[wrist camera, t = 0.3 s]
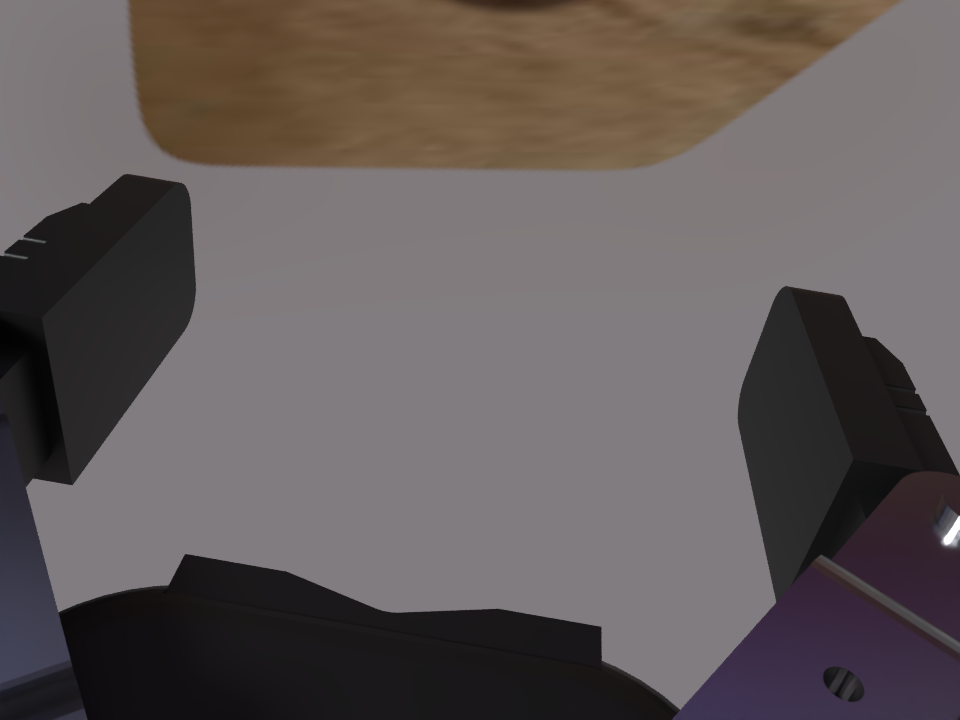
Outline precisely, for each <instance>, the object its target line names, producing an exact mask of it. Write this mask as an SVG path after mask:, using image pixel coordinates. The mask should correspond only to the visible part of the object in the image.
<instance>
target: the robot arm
mask: <svg viewBox="0 0 960 720" xmlns="http://www.w3.org/2000/svg"><path fill="white" fill-rule="evenodd" d="M195 294H196V281H195V266H194V249H193V234H192V217H191V203H190V197H189V193H188V190H187V188H186V186H185V185H184V184H182V183H178V182H172V181H166V180H160V179H155V178H149V177H143V176H136V175H131V174H125V175H123V176H122V177H120V178H119V179H118V180H117V181H116V182H114V183H113V184H112V185H111V186H110V187H109V188H108V189H106V190H105V191H104V192H103V193H102V194H101V195H99V196H98V197H97V198H96V199H95V200H94V201H92V202H91V203H90V204H87V203H80V204H78V205H75V206H72V207H70V208H68V209H65V210H62V211H60V212H57V213H55V214H52V215H50V216H47V217H46V218H44V219H43V220H42V221H41V222H40V223H38V224H37V225H36V226H35V227H34V228H33V229H31V230H30V231H29V232H28V233H26V234H25V235H24V238H23V240H18V241H17V242H15V243H14V244H13V245H12V246H11V247H9V248H8V249H7V250H6V251H5V254H4V256H0V720H960V475H959V473H958V471H957V469H956V467H955V465H954V463H953V461H952V459H951V457H950V455H949V453H948V451H947V449H946V447H945V445H944V443H943V441H942V439H941V438H940V436H939V433H938V431H937V430H936V428H935V426H934V424H933V422H932V420H931V418H930V416H927V415H926V411H927V410H926V408H925V406H924V404H923V402H922V400H921V398H920V396H919V394H915V390H916V388H915V387H914V385H913V383H912V381H911V379H910V377H909V375H908V373H907V371H906V369H905V367H904V365H903V363H902V362H901V361H900V360H898V359H897V358H896V357H895V356H894V355H893V354H892V353H891V352H890V351H889V350H888V349H887V348H885V347H884V346H883V345H882V344H881V343H880V342H879V341H878V340H877V339H875V338H870V337H864V336H862V334H861V332H860V330H859V328H858V326H857V324H856V322H855V319H854V317H853V315H852V313H851V311H850V309H849V306H848V304H847V302H846V300H845V299H844V297H843V296H840V295H835V294H829V293H823V292H817V291H811V290H805V289H799V288H793V287H788V286H785V287H783V288H782V289H781V290H780V291H779V292H778V294H777V296H776V297H775V299H774V302H773V304H772V307H771V309H770V312H769V315H768V317H767V320H766V323H765V325H764V328H763V331H762V333H761V336H760V339H759V341H758V344H757V347H756V350H755V352H754V355H753V358H752V360H751V363H750V365H749V368H748V371H747V373H746V376H745V379H744V382H743V385H742V389H741V393H740V399H739V406H738V425H739V430H740V434H741V440H742V444H743V449H744V453H745V458H746V463H747V468H748V472H749V477H750V481H751V486H752V491H753V495H754V500H755V505H756V509H757V514H758V519H759V523H760V527H761V533H762V537H763V542H764V547H765V551H766V556H767V560H768V565H769V570H770V574H771V579H772V584H773V589H774V593H775V597H776V604H775V605H774V606H773V607H772V608H771V609H770V610H769V612H768V613H767V614H766V615H765V616H764V617H763V618H762V619H761V620H760V622H759V623H758V624H757V625H756V626H755V627H754V628H753V629H752V630H751V632H750V633H749V634H748V635H747V636H746V637H745V638H744V639H743V640H742V642H741V643H740V644H739V645H738V646H737V647H736V648H735V649H734V651H733V652H732V653H731V654H730V655H729V656H728V657H727V658H726V659H725V661H724V662H723V663H722V664H721V665H720V666H719V667H718V669H717V670H716V671H715V672H714V673H713V674H712V675H711V676H710V677H709V679H708V680H707V681H706V682H705V683H704V684H703V685H702V687H701V688H700V689H699V690H698V691H697V692H696V693H695V694H694V695H693V696H692V698H691V699H690V700H689V701H688V702H687V703H686V704H685V705H684V707H683V708H682V709H681V710H680V709H679V708H677V707H676V706H675V705H674V704H672V703H671V702H670V701H669V700H668V699H667V698H665V697H664V696H663V695H661V694H660V693H659V692H657V691H656V690H654V689H653V688H651V687H650V686H648V685H647V684H645V683H644V682H642V681H641V680H639V679H637V678H635V677H634V676H631V675H630V674H628V673H626V672H624V671H623V670H621V669H619V668H617V667H615V666H612V665H610V664H608V663H606V662H603V661H602V655H601V653H602V652H601V627H599V626H593V625H587V624H582V623H576V622H570V621H565V620H559V619H553V618H547V617H542V616H536V615H531V614H524V613H519V612H513V611H508V610H502V609H487V610H486V609H483V610H459V611H458V610H457V611H431V612H407V613H406V612H405V613H391V612H385V611H381V610H378V609H375V608H373V607H370V606H368V605H366V604H363V603H361V602H359V601H356V600H354V599H351V598H349V597H346V596H344V595H341V594H339V593H337V592H334V591H332V590H330V589H327V588H325V587H322V586H320V585H317V584H315V583H312V582H310V581H308V580H305V579H303V578H301V577H298V576H296V575H293V574H291V573H288V572H285V571H279V570H274V569H268V568H262V567H257V566H251V565H245V564H240V563H234V562H228V561H222V560H217V559H211V558H205V557H199V556H194V555H188V554H185V556H184V557H183V559H182V561H181V563H180V565H179V567H178V569H177V571H176V573H175V575H174V576H173V578H172V580H171V582H170V584H169V585H168V586H153V587H146V588H139V589H131V590H126V591H122V592H117V593H113V594H109V595H104V596H101V597H98V598H95V599H92V600H89V601H86V602H83V603H80V604H77V605H75V606H72V607H70V608H68V609H65V610H63V611H61V612H58V609H57V605H56V602H55V598H54V594H53V590H52V586H51V582H50V579H49V575H48V571H47V567H46V563H45V559H44V556H43V552H42V548H41V544H40V540H39V536H38V532H37V529H36V525H35V521H34V517H33V513H32V509H31V505H30V501H29V498H28V494H27V490H26V486H27V485H28V484H29V483H30V481H31V480H32V479H33V478H34V479H40V480H45V481H52V482H57V483H62V484H68V485H73V484H74V482H75V481H76V480H77V478H78V477H79V475H80V474H81V473H82V471H83V470H84V469H85V467H86V466H87V464H88V463H89V462H90V460H91V459H92V458H93V456H94V455H95V453H96V452H97V451H98V449H99V448H100V446H101V445H102V444H103V442H104V441H105V439H106V438H107V437H108V435H109V434H110V433H111V431H112V430H113V429H114V427H115V426H116V424H117V423H118V421H119V420H120V419H121V418H122V416H123V414H124V413H125V412H126V411H127V409H128V408H129V406H130V405H131V403H132V402H133V401H134V400H135V398H136V397H137V395H138V394H139V392H140V391H141V390H142V389H143V387H144V386H145V384H146V383H147V382H148V380H149V379H150V378H151V376H152V375H153V373H154V372H155V371H156V369H157V368H158V366H159V365H160V364H161V362H162V361H163V359H164V358H165V357H166V355H167V354H168V353H169V351H170V350H171V348H172V347H173V346H174V344H175V343H176V342H177V340H178V339H179V338H180V336H181V335H182V333H183V332H184V331H185V329H186V327H187V325H188V323H189V321H190V318H191V315H192V312H193V307H194V302H195Z"/></svg>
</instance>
